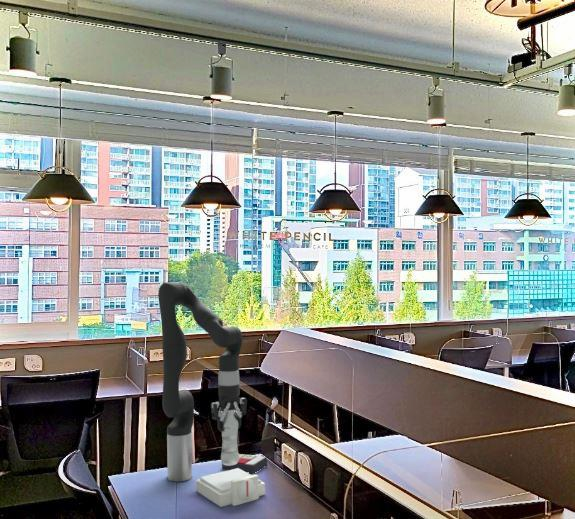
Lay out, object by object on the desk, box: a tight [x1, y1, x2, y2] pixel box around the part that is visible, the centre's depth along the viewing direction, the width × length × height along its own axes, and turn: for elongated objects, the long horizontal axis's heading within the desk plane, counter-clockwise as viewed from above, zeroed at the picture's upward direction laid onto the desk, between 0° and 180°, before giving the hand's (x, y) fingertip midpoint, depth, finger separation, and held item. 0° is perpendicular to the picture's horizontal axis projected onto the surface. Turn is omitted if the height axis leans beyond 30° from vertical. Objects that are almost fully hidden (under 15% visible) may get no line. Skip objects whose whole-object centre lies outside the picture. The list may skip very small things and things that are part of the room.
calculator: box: [221, 453, 268, 474], centre depth 241 cm, size 11×4×15 cm
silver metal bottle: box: [220, 409, 240, 466], centre depth 214 cm, size 6×7×20 cm
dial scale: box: [195, 468, 266, 507], centre depth 212 cm, size 21×18×8 cm
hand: (229, 429), depth 214 cm, fingers closed on silver metal bottle, 6 cm apart
